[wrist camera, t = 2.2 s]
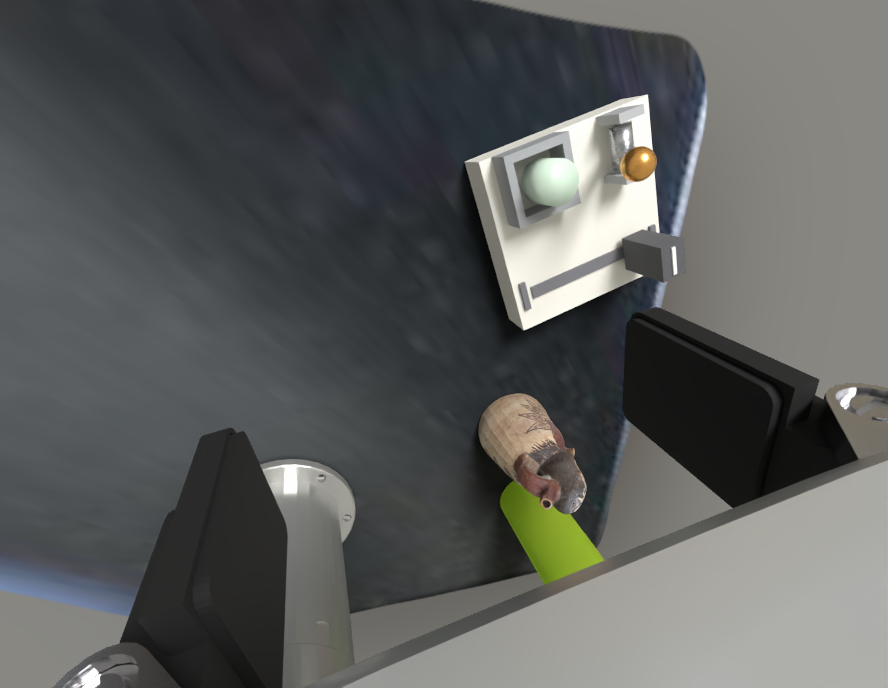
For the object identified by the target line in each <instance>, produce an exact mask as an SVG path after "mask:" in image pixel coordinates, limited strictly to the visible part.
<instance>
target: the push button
mask: <svg viewBox="0 0 888 688" xmlns="http://www.w3.org/2000/svg"><path fill="white" fill-rule="evenodd" d="M578 185H579V173H578V170H577V168H576V166H575V165H574V163H573V162H571V161H570V160H568V159H565V158H538V159H535V160H533V161H532V162H531V163H529V164H528V166H527V167H526V168H525V170H524V172H523V175H522V179H521V187H522V191H523V194H524V195H525V197H526V198H527V199H528V200H529V201H531V202H533V203H538V204H543V205H548V206H553V207H559V206H563V205H565V204H567V203H568V202H569V201H570V200H571V199H572V198H573V197H574V195H575V194H576V191H577V189H578Z"/></svg>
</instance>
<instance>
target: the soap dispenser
mask: <svg viewBox="0 0 888 688" xmlns="http://www.w3.org/2000/svg"><path fill="white" fill-rule="evenodd" d="M500 507H501V509H502V511H503V513H504V515H505V516H506V518H507V520H508V522H509V523H510V525H511V527H512V529H513V530H514V532H515V534H516V536H517V537H518V539H519V541H520V543H521V544H522V546H523V548H524V550H525V551H526V553H527V555H528V557H529V558H530V560H531V562H532V564H533V565H534V567H535V569H536V571H537V572H538V574H539V576H540V578H541V579H542V581H543V583H544V585H545V584H548V583H550V582H552V581H555V580H557V579H560V578H562V577H565V576H567V575H570V574H572V573H575V572H577V571H579V570H582V569H584V568H587V567H589V566H592V565H594V564H597V563H599V562H602V561H604V559H603V557H602V556H601V555H600V553H599V552H598V551H597V549H596V548H595V547H594V545H593V544H592V543H591V541H590V540H589V539H588V537H587V536H586V535H585V533H584V532H583V531H582V529H581V528H580V527H579V525H578V524H577V523H576V521H575V520H574V519H573V517H572V516H571V515H570V514H563V513H561V512H559V511H558V510H556V508H555V507H554V506H553V507H552V508H550V509H545V508H543V507H542V506H541V504H540V498H538V497H536V496H534V495H532V494H531V493H529V492H528V491H527V490H526V489H525V488H524V487H523V486H521V485H519V484H518V483H517V482H515V481H512V482H511V483H510V484H509V485H508V486H507V487H506V488H505V489H504V491H503V493H502V495H501V498H500Z"/></svg>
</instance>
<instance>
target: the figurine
mask: <svg viewBox="0 0 888 688" xmlns="http://www.w3.org/2000/svg"><path fill="white" fill-rule="evenodd" d="M478 434H479V438H480V442H481V445H482V447H483V448H484V450H485V451H486V452H487V454H488V455H489V456H490V457H491V458H492V459H493V460H494V461H495V462H496V463H497V465H498V466H499V467H500V468H501V469H502V470H503V471H504V472H505V473H506V474H507V475H508V476H509V477H511V478H512V479H513V480H514V481H515V482H517V483H518V484H519V485H521V486H523V487H524V488H525V489H526V490H527V491H528V492H529V493H531V494H532V495H534V496H536V497H538V498H540V504H541V506H542V507H543V508H545V509H550V508H552V507H553V506H554V507H555V508H556V510H558V511H559V512H561V513H563V514H570V513H573V512H575V511H576V510H577V509H578V508H579V507H580V505H581V504H582V502H583V499H584V497H585V494H586V483H585V479H584V477H583V475H582V472H581V471H580V469H579V468H578V466H577V464H576V462H575V460H574V455H575V450H574V449H573V448H566V447H565V445H564V439H563V436H562V434H561V433H560V431H559V430H558V429H557V428H556V427H555V425H554V424H553V423H552V421H551V420H550V418H549V417H548V415H547V412H546V411H545V409H544V408H543V406H542V405H541V404H540V403H539V402H538V401H537V400H536V399H534V398H533V397H531V396H528V395H526V394H522V393H517V394H511V395H507V396H504V397H501V398H499V399H498V400H496V401H494V402H493V403H492V404H491V405H490V406H489V407H488V408H487V409H486V410H485V411H484V413H483V414H482V416H481V419H480V422H479V430H478Z"/></svg>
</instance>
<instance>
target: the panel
mask: <svg viewBox="0 0 888 688" xmlns="http://www.w3.org/2000/svg"><path fill="white" fill-rule="evenodd" d="M625 121H632V129H633V139H634V146H635V147H638V146H644V147H648V148H650V149H651V150H652V139H651V127H650V115H649V103H648V95H643V96H638V97H632V98H626V99H621V100H619V101H616V102H614V103H611V104H608V105H606V106H603V107H601V108H598V109H596V110H593V111H591V112H588V113H586V114H583V115H581V116H578V117H576V118H573V119H571V120H568V121H566V122H563V123H561V124H558V125H556V126H553V127H551V128H548V129H546V130H543V131H541V132H538V133H535V134H533V135H530V136H528V137H525V138H523V139H520V140H518V141H515V142H513V143H510V144H508V145H505V146H503V147H500V148H498V149H495V150H493V151H490V152H488V153H485V154H483V155H480V156H478V157H475V158H473V159H470V160H468V161H465V165H466V169H467V172H468V176H469V179H470V183H471V186H472V190H473V194H474V197H475V201H476V204H477V208H478V211H479V215H480V218H481V222H482V225H483V229H484V233H485V236H486V240H487V243H488V247H489V250H490V254H491V257H492V261H493V264H494V268H495V271H496V275H497V279H498V282H499V286H500V289H501V293H502V296H503V300H504V303H505V307H506V310H507V314H508V318H509V319H510V320H511V321H512V322H513V323H515V324H516V325H517V326H519V327H520V328H521V329H522V330H526V329H529V328H531V327H533V326H535V325H537V324H539V323H542V322H544V321H546V320H548V319H550V318H552V317H555V316H557V315H559V314H561V313H563V312H565V311H568V310H570V309H572V308H574V307H576V306H579V305H581V304H583V303H585V302H587V301H589V300H592V299H594V298H596V297H598V296H600V295H602V294H605V293H607V292H609V291H611V290H613V289H616V288H618V287H620V286H622V285H624V284H626V283H629V282H631V281H633V280H635V279H637V278H639V277H642V276H643V275H640V274H637V273H635V272H632V271H629V270H626V268H625V260H624V253H623V245H622V238H624V237H626V236H628V235H631V234H633V233H635V232H637V231H640V230H642V229H643V230H648V231H653V232H657V233H659V222H658V210H657V199H656V187H655V175H654V172H653V173H652V174H651V176H649V177H648V178H647V179H645V180H643V181H641V182H631V181H628V180H627V179H625V178H624V177H623V175H622V173H621V170H620V171H613V165H612V157H611V149H610V142H609V134H608V127H610V126H612V125H614V124H620V123H622V122H625ZM538 158H565V159H568V160H570V161H571V162H573V163H574V165H575V166H576V168H577V170H578V173H579V185H578V189H577V191H576V194H575V195H574V197H573V198H572V199H571V200H570V201H569V202H568V203H567V204H565V205H563V206H559V207H553V206H548V205H543V204H538V203H533V202H531V201H529V200H528V199H527V198H526V197H525V195H524V194H523V191H522V187H521V179H522V175H523V172H524V170H525V168H526V167H527V166H528V164H529V163H531V162H532V161H533V160H535V159H538Z"/></svg>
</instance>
